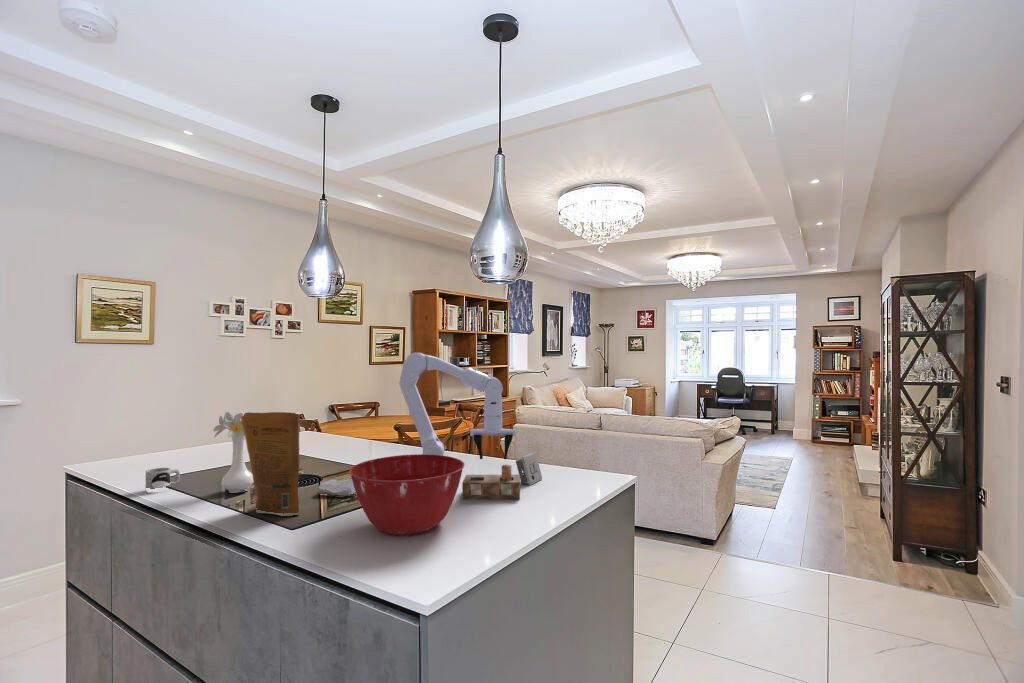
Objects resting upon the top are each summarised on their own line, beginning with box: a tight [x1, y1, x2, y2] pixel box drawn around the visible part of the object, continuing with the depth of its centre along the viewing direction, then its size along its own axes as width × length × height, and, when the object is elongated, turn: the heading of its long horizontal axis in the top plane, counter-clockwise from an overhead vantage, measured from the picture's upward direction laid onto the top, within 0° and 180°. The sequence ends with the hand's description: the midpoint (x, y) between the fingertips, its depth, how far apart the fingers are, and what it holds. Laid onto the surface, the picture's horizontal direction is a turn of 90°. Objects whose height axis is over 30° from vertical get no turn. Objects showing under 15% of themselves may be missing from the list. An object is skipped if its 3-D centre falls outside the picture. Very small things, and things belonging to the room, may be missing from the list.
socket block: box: [461, 474, 521, 501], centre depth 163 cm, size 17×10×5 cm, turn 89°
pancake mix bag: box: [240, 411, 301, 514], centre depth 146 cm, size 7×19×28 cm, turn 66°
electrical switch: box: [515, 452, 543, 486], centre depth 179 cm, size 9×5×9 cm, turn 152°
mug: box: [145, 467, 181, 489], centre depth 173 cm, size 10×7×7 cm, turn 150°
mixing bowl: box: [348, 453, 465, 536], centre depth 134 cm, size 28×28×15 cm
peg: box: [501, 464, 513, 481], centre depth 162 cm, size 3×3×8 cm
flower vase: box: [213, 411, 254, 491], centre depth 170 cm, size 13×18×25 cm
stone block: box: [317, 478, 356, 495], centre depth 166 cm, size 12×5×10 cm
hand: (493, 458), depth 169 cm, fingers open, 7 cm apart
